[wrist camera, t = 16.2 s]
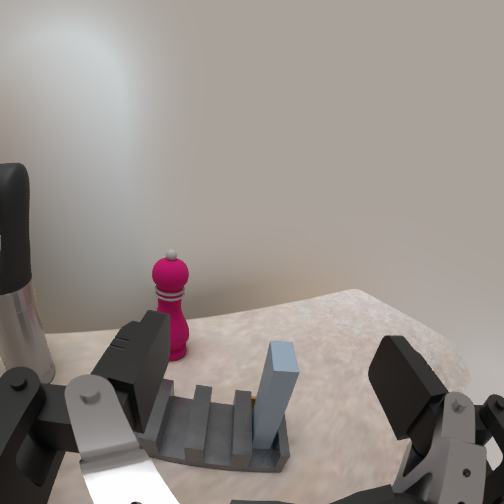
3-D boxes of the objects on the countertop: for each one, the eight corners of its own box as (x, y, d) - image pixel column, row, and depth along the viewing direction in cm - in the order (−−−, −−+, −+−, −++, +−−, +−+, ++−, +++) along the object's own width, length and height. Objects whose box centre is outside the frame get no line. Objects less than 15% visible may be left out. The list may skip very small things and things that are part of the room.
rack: (112, 445, 25) (103, 426, 24) (134, 391, 36) (131, 369, 34) (280, 472, 26) (290, 455, 25) (274, 412, 37) (281, 391, 36)
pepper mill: (186, 339, 52) (191, 243, 46) (190, 362, 46) (197, 258, 40) (150, 339, 50) (149, 241, 44) (151, 363, 43) (148, 256, 37)
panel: (250, 448, 29) (273, 370, 24) (250, 420, 33) (270, 340, 29) (269, 449, 29) (299, 372, 24) (267, 421, 33) (292, 342, 29)
